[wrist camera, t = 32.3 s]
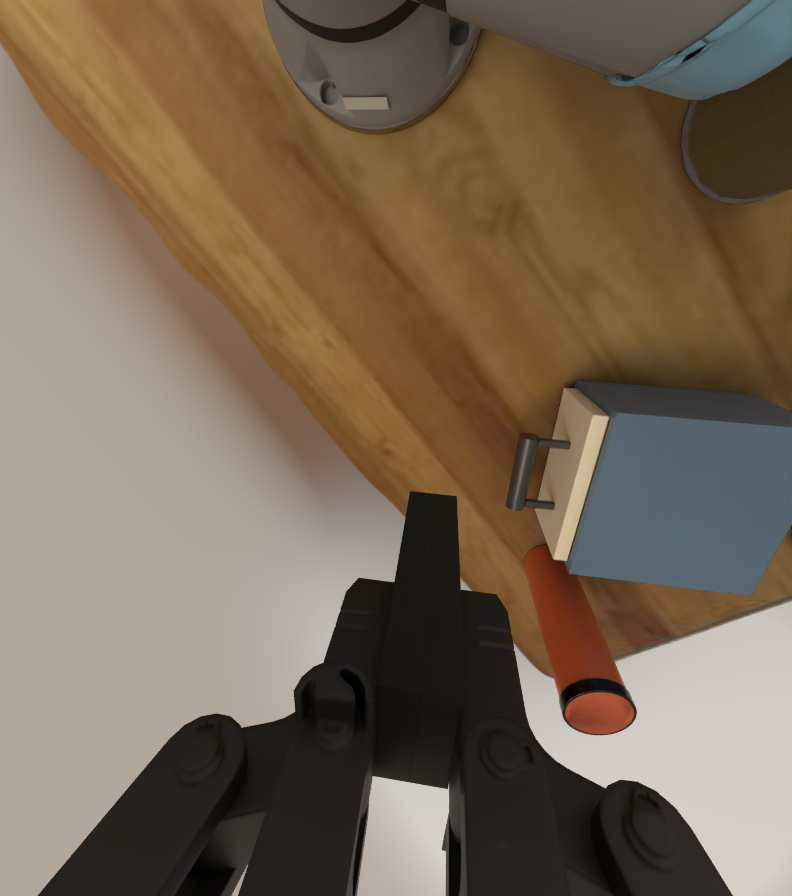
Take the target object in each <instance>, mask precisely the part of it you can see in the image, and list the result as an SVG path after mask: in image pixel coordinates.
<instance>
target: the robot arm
mask: <svg viewBox="0 0 792 896" xmlns="http://www.w3.org/2000/svg"><path fill="white" fill-rule="evenodd" d="M262 1H263V6H264V11H265V15H266V19H267V23H268V26H269V30H270V33H271V35H272V38H273V41H274V43H275V46H276V48H277V51H278V53H279V55H280V57H281V59H282V62H283V64H284V66H285V67H286V69H287V71H288V73H289V75H290V76H291V78H292V79H293V81H294V82H295V84H296V85H297V87H298V88H299V89H300V90H301V92H302V93H303V94H304V96H305V97H306V98H307V99H308V101H309V102H310V103H311V104H312V105H313V106H314V107H315V108H316V109H317V110H318V111H319V112H320V113H322V114H323V115H324V116H325V117H327V118H328V119H330V120H331V121H332V122H334V123H336V124H338V125H340V126H342V127H344V128H347V129H349V130H352V131H356V132H359V133H366V134H385V133H391V132H395V131H399V130H402V129H404V128H407V127H409V126H411V125H413V124H415V123H417V122H419V121H420V120H422V119H423V118H425V117H426V116H428V115H429V114H430V113H431V112H433V111H434V110H435V109H436V108H437V107H438V106H439V105H440V104H441V103H442V102H443V101H444V100H445V99H446V98H447V96H448V95H449V94H450V93H451V92H452V90H453V89H454V87H455V86H456V85H457V83H458V82H459V80H460V78H461V77H462V75H463V73H464V72H465V70H466V68H467V66H468V64H469V62H470V60H471V57H472V55H473V52H474V50H475V48H476V45H477V42H478V38H479V35H480V32H481V28H484V29H486V30H489V31H491V32H494V33H497V34H499V35H502V36H505V37H507V38H510V39H512V40H515V41H518V42H520V43H523V44H526V45H528V46H531V47H533V48H536V49H539V50H541V51H544V52H547V53H549V54H552V55H555V56H557V57H560V58H562V59H565V60H568V61H570V62H573V63H576V64H578V65H581V66H583V67H586V68H589V69H591V70H594V71H597V72H599V73H602V74H604V75H605V78H606V81H607V82H609V83H611V84H613V85H615V86H620V87H631V86H641V87H645V88H648V89H651V90H654V91H658V92H661V93H664V94H667V95H671V96H674V97H677V98H681V99H686V100H703V99H708V98H710V97H713V96H715V95H718V94H721V93H725V92H727V91H732V90H736V89H738V88H741V87H743V86H745V85H747V84H749V83H751V82H753V81H755V80H756V79H758V78H760V77H761V76H763V75H765V74H766V73H768V72H770V71H771V70H773V69H775V68H776V67H778V66H779V65H781V64H782V63H784V62H785V61H787V60H788V59H790V58H791V57H792V0H262ZM460 589H461V588H460V564H459V540H458V517H457V496H449V495H440V494H431V493H421V492H412V491H410V496H409V501H408V507H407V513H406V519H405V525H404V531H403V536H402V542H401V548H400V554H399V560H398V565H397V571H396V576H395V582H387V581H379V580H371V579H363V578H358V579H357V580H356V582H355V583H354V584H353V585H352V586H351V587H350V588H349V589H348V590H347V591H346V594H345V597H344V600H343V604H342V607H341V611H340V613H339V616H338V619H337V622H336V627H335V628H334V632H333V635H332V638H331V641H330V644H329V647H328V650H327V653H326V657H325V659H324V663H322V664H319V665H317V666H314V667H313V668H312V669H311V670H309V671H308V672H307V673H306V674H305V675H304V676H302V678H301V679H300V681H299V683H298V685H297V686H296V688H295V690H294V700H295V712H294V713H293V714H291V715H289V716H287V717H285V718H283V719H280V720H277V721H274V722H270V723H264V724H259V725H254V726H249V727H244V728H241V726H240V724H238V723H237V722H236V721H235V720H234V719H233V718H232V717H230V716H226V715H221V714H212V715H206V716H202V717H199V718H197V719H195V720H193V721H192V722H190V723H188V724H186V725H184V726H183V727H182V728H181V729H180V730H179V731H178V732H177V733H176V734H175V735H173V736H172V737H171V738H170V739H169V740H168V742H167V743H166V744H165V745H164V746H163V747H162V749H161V750H160V751H159V752H158V754H157V755H156V756H155V757H154V758H153V759H152V761H151V762H150V763H149V764H148V765H147V766H146V768H145V769H144V770H143V771H142V772H141V774H140V775H139V776H138V777H137V778H136V779H135V781H134V782H133V783H132V784H131V785H130V787H129V788H128V789H127V790H126V791H125V792H124V794H123V795H122V796H121V797H120V798H119V800H118V801H117V802H116V803H115V804H114V806H113V807H112V808H111V809H110V810H109V811H108V813H107V814H106V815H105V816H104V817H103V819H102V820H101V821H100V822H99V823H98V825H97V826H96V827H95V828H94V829H93V831H92V832H91V833H90V834H89V835H88V836H87V838H86V839H85V840H84V841H83V843H82V844H81V845H80V846H79V847H78V848H77V850H76V851H75V852H74V853H73V854H72V855H71V857H70V858H69V859H68V860H67V861H66V863H65V864H64V865H63V866H62V867H61V869H60V870H59V871H58V872H57V873H56V875H55V876H54V877H53V878H52V879H51V880H50V882H49V883H48V884H47V885H46V886H45V888H44V889H43V890H42V891H41V893H40V894H39V895H38V896H231V895H232V893H233V891H234V889H235V887H236V885H237V884H238V881H239V880H240V878H241V876H242V874H243V872H244V870H245V868H246V866H247V865H248V868H247V870H246V873H245V876H244V879H243V882H242V885H241V888H240V891H239V894H238V896H357V889H358V882H359V875H360V868H361V861H362V855H363V847H364V841H365V834H366V827H367V820H368V808H369V796H370V789H371V783H372V776H377V777H383V778H388V779H394V780H400V781H405V782H411V783H417V784H422V785H428V786H434V787H439V788H446V789H448V784H449V815H448V820H447V824H446V830H445V834H444V840H443V846H442V850H444V851H446V896H733V895H732V894H731V892H730V890H729V889H728V887H727V886H726V884H725V882H724V881H723V879H722V877H721V876H720V875H719V873H718V871H717V870H716V868H715V866H714V865H713V863H712V861H711V860H710V858H709V856H708V855H707V853H706V852H705V850H704V848H703V847H702V845H701V844H700V842H699V841H698V839H697V837H696V835H695V834H694V832H693V831H692V829H691V828H690V826H689V825H688V824H687V822H686V821H685V820H684V819H683V817H682V816H681V815H680V813H679V812H678V811H677V809H676V808H675V807H674V806H673V805H671V804H670V803H669V802H668V801H667V800H666V799H665V798H663V797H662V796H661V795H660V794H659V793H658V792H656V791H655V790H653V789H651V788H649V787H646V786H644V785H643V784H641V783H638V782H634V781H626V780H619V781H617V782H614V783H612V784H610V785H608V786H607V788H606V789H605V788H603V787H602V786H600V785H598V784H596V783H594V782H592V781H590V780H588V779H586V778H584V777H582V776H581V775H579V774H577V773H574V772H573V771H571V770H569V769H567V768H566V767H564V766H563V765H561V764H560V763H558V762H556V761H555V760H554V759H553V758H552V757H551V756H550V755H549V754H548V753H547V752H546V751H545V750H544V749H543V748H542V746H541V745H540V744H539V742H538V741H537V740H536V739H535V736H534V735H533V732H532V731H531V729H530V727H529V723H528V720H527V716H526V712H525V706H524V702H523V695H522V690H521V685H520V679H519V673H518V668H517V662H516V656H515V651H514V645H513V640H512V635H511V628H510V623H509V617H508V612H507V610H506V609H505V607H504V606H503V604H502V602H501V601H500V599H499V598H498V596H497V595H496V594H489V593H482V592H474V591H466V590H460Z"/></svg>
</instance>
